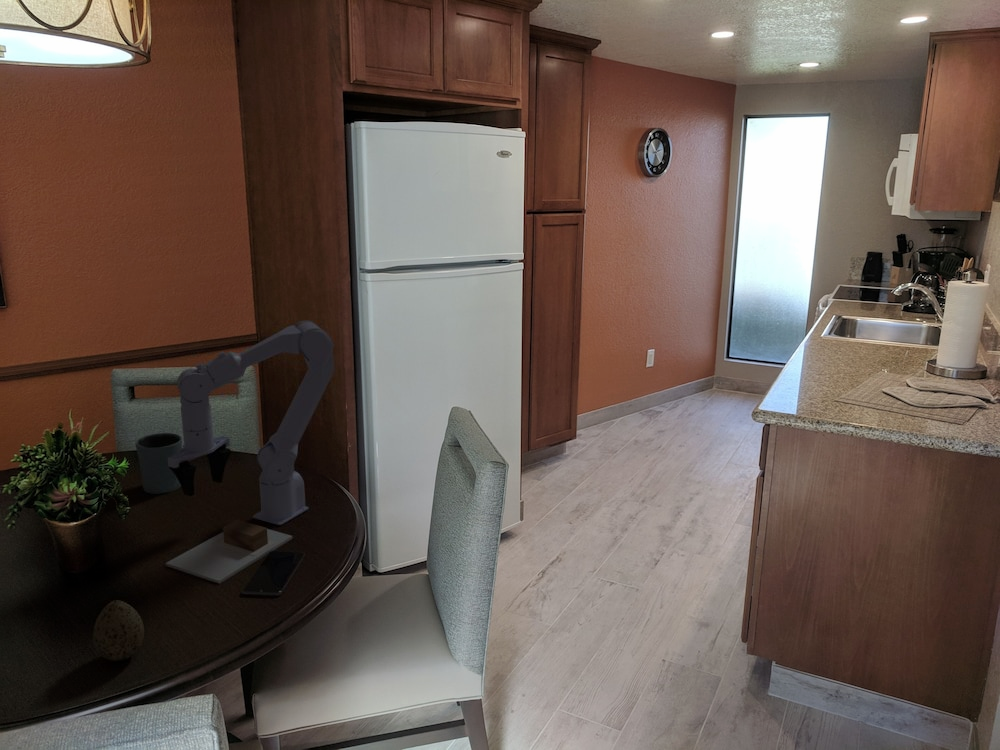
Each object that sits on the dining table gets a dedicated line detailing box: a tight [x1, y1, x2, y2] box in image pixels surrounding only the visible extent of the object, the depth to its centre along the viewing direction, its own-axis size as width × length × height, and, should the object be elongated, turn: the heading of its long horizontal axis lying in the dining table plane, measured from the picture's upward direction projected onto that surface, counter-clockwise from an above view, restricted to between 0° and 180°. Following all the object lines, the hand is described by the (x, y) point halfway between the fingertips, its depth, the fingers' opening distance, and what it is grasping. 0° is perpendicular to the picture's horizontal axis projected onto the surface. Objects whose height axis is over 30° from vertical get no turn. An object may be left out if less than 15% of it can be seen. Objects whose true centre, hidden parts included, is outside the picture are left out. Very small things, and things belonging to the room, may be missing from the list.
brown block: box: [222, 519, 268, 552], centre depth 153 cm, size 8×4×4 cm, turn 63°
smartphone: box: [241, 550, 306, 597], centre depth 144 cm, size 7×1×16 cm
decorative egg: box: [92, 599, 145, 662], centre depth 118 cm, size 7×7×10 cm
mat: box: [165, 528, 293, 585], centre depth 152 cm, size 20×14×1 cm
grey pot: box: [135, 432, 183, 495], centre depth 180 cm, size 10×10×12 cm
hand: (203, 488), depth 159 cm, fingers open, 7 cm apart
